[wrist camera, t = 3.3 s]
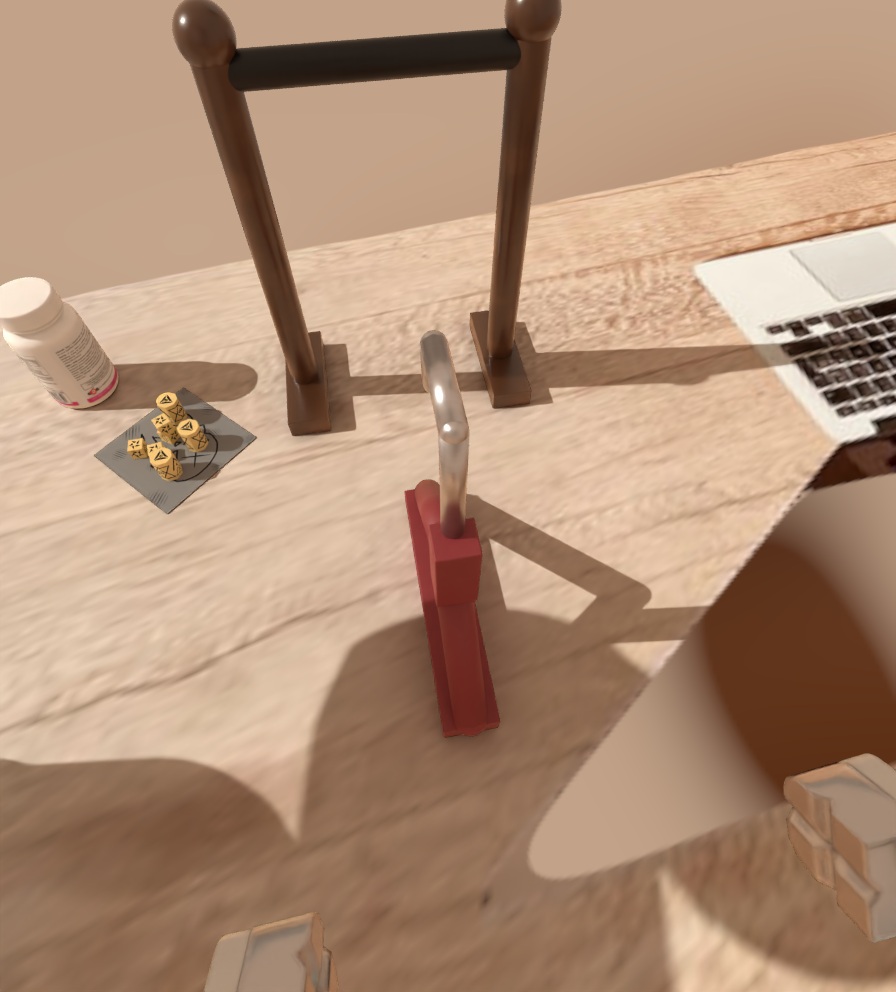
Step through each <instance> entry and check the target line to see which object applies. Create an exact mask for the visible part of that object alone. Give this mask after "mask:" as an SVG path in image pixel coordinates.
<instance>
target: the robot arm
mask: <svg viewBox="0 0 896 992" xmlns="http://www.w3.org/2000/svg"><path fill="white" fill-rule="evenodd" d="M783 785H784V797H785V798H786V799H787V800H788V801H789V802H790V803H791V804H792V806H793V807H792V809H791V811H790V813H789V815H788V817H787V818H786V821H787V829H788V836H789V839H790V841H791V843H792V846H793V848H794V850H795V853H796V855H797V856H798V858H799V859H800V861H801V862H802V864H803V865H804V867H805V868H806V869H807V871H808V872H809V873H810V874H811V875H812V876H813V877H814V879H815V880H816V881H818V882H820V883H822V884H824V885H826V886H829V887H831V888H833V889H835V890H836V896H837V904H838V906H839V907H840V908H841V909H842V910H843V911H844V913H845V914H846V915H847V916H848V917H849V918H850V919H851V920H852V921H853V923H854V924H855V925H856V926H857V927H858V928H859V929H860V930H861V931H862V933H863V934H864V935H865V936H866V937H867V938H868V939H869V940H870V942H871V943H875V942H879V941H883V940H886V939H890V938H894V937H896V770H894V769H893V768H892V767H890V766H889V765H888V764H886V763H885V762H883V761H882V760H881V759H879V758H878V757H877V756H874V755H871V754H869V753H865V754H862V755H859V756H855V757H852V758H849V759H845V760H842V761H840V762H836V763H832V764H829V765H825V766H822V767H819V768H815V769H812V770H808V771H805V772H802V773H798V774H795V775H792V776H788V777H786V779H785V782H784V784H783ZM323 936H324V928H323V925H322V922H321V919H320V916H319V913H317V912H311V913H307V914H304V915H300V916H296V917H292V918H288V919H284V920H280V921H276V922H272V923H268V924H264V925H260V926H256V927H254V928H252V929H248V930H244V931H240V932H236V933H232V934H228V935H224V936H222V938H221V939H220V941H219V942H218V944H217V946H216V948H215V952H214V955H213V959H212V962H211V966H210V970H209V973H208V977H207V981H206V984H205V988H204V991H203V992H338V980H337V974H336V969H335V963H334V960H333V957H332V953H331V951H330V950H328V949H326V948H325V947H323Z"/></svg>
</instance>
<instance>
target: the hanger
mask: <svg viewBox="0 0 896 992" xmlns="http://www.w3.org/2000/svg"><path fill="white" fill-rule="evenodd" d="M420 353H421V371H422V385H423V387H424V389H425V390H426V391H427V392H428V393H430V395H431V400H432V405H433V410H434V414H435V419H436V424H437V428H438V433H439V475H440V485H439V484H438V483H437V482H435V481H433V480H423V481H421V482H420V483H419V484H418V485H417V486H416V488H415V489H414V490H407V491H405V500H406V507H407V513H408V519H409V526H410V532H411V538H412V544H413V550H414V557H415V563H416V569H417V575H418V581H419V588H420V594H421V600H422V606H423V612H424V618H425V625H426V631H427V637H428V643H429V649H430V656H431V662H432V668H433V674H434V680H435V687H436V693H437V699H438V705H439V711H440V718H441V724H442V730H443V736H444V737H450V736H455V735H460V734H464V735H467V736H474V735H477V734H479V733H481V732H482V731H483V730H487V729H492V728H497V727H498V726H499V723H500V718H499V713H498V708H497V704H496V699H495V694H494V690H493V685H492V680H491V675H490V671H489V666H488V661H487V657H486V652H485V647H484V643H483V638H482V633H481V628H480V624H479V619H478V614H477V610H476V605H475V601H476V600H477V599H478V590H479V581H480V572H481V563H482V549H481V545H480V541H479V536H478V532H477V528H476V523H475V519H474V518H469V519H465V513H466V493H467V472H468V451H469V426H468V422H467V418H466V414H465V410H464V406H463V401H462V397H461V393H460V389H459V385H458V381H457V377H456V373H455V369H454V365H453V361H452V357H451V353H450V349H449V345H448V341H447V339H446V337H445V335H444V334H443V333H441V332H440V331H436V330H432V331H428V332H427V333H425V334H424V335H423V337H422V338H421V341H420Z"/></svg>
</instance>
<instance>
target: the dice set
mask: <svg viewBox="0 0 896 992" xmlns="http://www.w3.org/2000/svg"><path fill="white" fill-rule="evenodd" d="M156 403H157V405H158V409H159V410H160V412H161V414H159V415H157V416H156V417H154V418H152V419H151V420H150V421H151V422H152V424H153V425H154V427H155V428H156V430H157V431H156V434H157V435H158V437H159V438H160V439H161V440H162V441H164V442H167V443H169V444H171V445H173V444H174V443H175V441H176V440H177V439H178V438H179V437H180V438H181V439H182V441H183V443H184V444H185V446H186V447H187V449H188V450H189V451H192V452H195V453H197V452H199V451H202V450H204V449H205V448H206V446H207V445H208V444H209V441H208V439H207V437H206V435H205V433H204V431H203V430H202V428H201V426H200V424H199V423H198V421H197V420H196V419H192V418H187V417H188V414H187V412H186V410H185V408H184V407H183V405H182V403H181V402H180V400H179V398H178V396H177V395H176V394H175V393H170V392H166V393H164V394H161V395H159V397H158V398H157V400H156ZM162 441H158V442H154V443H151V444H148V443H147V442H146V441H145V439H144V438H143V437H140V438H134V439H128V440H127V448H126V452H127V453H128V454H129V455H130V457H131V458H132V459H133V460H136V459H140V458H144V457H147V456H148V458H149V463H150V464H151V465H152V467H153V468H154V469H155V471H156V472H157V474H158V475H159V476H160V478H161V479H163V480H166V481H168V482H170V481H172V480H177V479H178V478H179V476H180V475H181V474H182V472H183V468H182V465H181V463H180V462H179V460H178V459H177V457H176V456H175V454H174V453H173V451H172V450H171V449H170V448H167V447H165V445H164V444H163V442H162Z"/></svg>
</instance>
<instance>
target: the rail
mask: <svg viewBox="0 0 896 992" xmlns="http://www.w3.org/2000/svg"><path fill="white" fill-rule="evenodd" d="M560 16H561V0H507V1H506V5H505V23H506V27H507V28H501V29H488V30H475V31H461V32H449V33H436V34H423V35H409V36H396V37H383V38H370V39H357V40H344V41H332V42H331V41H330V42H318V43H304V44H291V45H278V46H265V47H252V48H239V49H236V35H235V31H234V27H233V25H232V23H231V21H230V19H229V17H228V16H227V14H226V13H225V12H224V11H223V10H222V9H221V8H220V7H219V6H218V5H217V4H215V3H214V2H212V1H210V0H184V1H183V2H182V3H181V4H180V5H179V6H178V7H177V9H176V11H175V13H174V16H173V22H172V31H173V36H174V39H175V43H176V45H177V47H178V49H179V51H180V52H181V54H182V55H183V57H184V58H185V59H186V60H187V61H188V62H189V63H190V66H191V69H192V73H193V75H194V79H195V82H196V85H197V88H198V91H199V94H200V97H201V100H202V103H203V106H204V110H205V112H206V116H207V119H208V122H209V125H210V128H211V131H212V134H213V137H214V140H215V143H216V146H217V149H218V153H219V156H220V159H221V162H222V165H223V168H224V171H225V174H226V177H227V180H228V183H229V186H230V190H231V193H232V196H233V199H234V202H235V205H236V208H237V211H238V214H239V217H240V220H241V223H242V227H243V230H244V233H245V236H246V239H247V242H248V245H249V248H250V251H251V254H252V257H253V260H254V264H255V267H256V270H257V273H258V276H259V279H260V282H261V285H262V288H263V291H264V294H265V297H266V301H267V304H268V307H269V310H270V313H271V316H272V319H273V322H274V325H275V328H276V331H277V334H278V337H279V341H280V344H281V347H282V350H283V353H284V356H285V361H286V387H287V413H288V425H289V428H290V431H291V433H292V435H301V434H308V433H315V432H323V431H330V430H331V424H330V413H329V402H328V390H327V379H326V368H325V357H324V345H323V340H322V336H321V332H320V331H318V332H309V333H308V331H307V328H306V324H305V320H304V316H303V313H302V309H301V305H300V301H299V298H298V294H297V290H296V286H295V282H294V279H293V275H292V271H291V267H290V264H289V260H288V256H287V252H286V249H285V245H284V241H283V237H282V234H281V230H280V226H279V222H278V219H277V215H276V211H275V208H274V204H273V200H272V196H271V192H270V189H269V185H268V181H267V177H266V174H265V170H264V166H263V162H262V159H261V155H260V151H259V147H258V144H257V140H256V136H255V132H254V128H253V125H252V121H251V117H250V114H249V110H248V106H247V102H246V99H245V95H244V92H246V91H258V90H270V89H283V88H294V87H307V86H318V85H330V84H343V83H355V82H367V81H379V80H390V79H403V78H415V77H427V76H439V75H451V74H463V73H474V72H475V73H476V72H487V71H499V70H507V73H506V74H507V75H506V87H505V101H504V114H503V129H502V142H501V156H500V169H499V183H498V197H497V211H496V224H495V237H494V251H493V264H492V278H491V292H490V305H489V311H482V312H473V313H470V329H471V332H472V336H473V340H474V343H475V347H476V350H477V354H478V357H479V361H480V364H481V368H482V371H483V375H484V378H485V382H486V385H487V389H488V393H489V396H490V400H491V403H492V407H493V408H499V407H506V406H513V405H521V404H528V403H529V402H530V396H531V388H530V385H529V382H528V379H527V376H526V373H525V370H524V367H523V364H522V361H521V358H520V355H519V352H518V349H517V346H516V343H515V340H514V334H515V326H516V318H517V310H518V302H519V294H520V286H521V278H522V269H523V261H524V253H525V245H526V237H527V229H528V221H529V213H530V205H531V197H532V189H533V181H534V173H535V165H536V157H537V149H538V141H539V133H540V125H541V116H542V109H543V101H544V92H545V85H546V77H547V69H548V61H549V53H550V45H551V36H552V35H553V33H554V32H555V30H556V28H557V26H558V23H559V20H560Z"/></svg>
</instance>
